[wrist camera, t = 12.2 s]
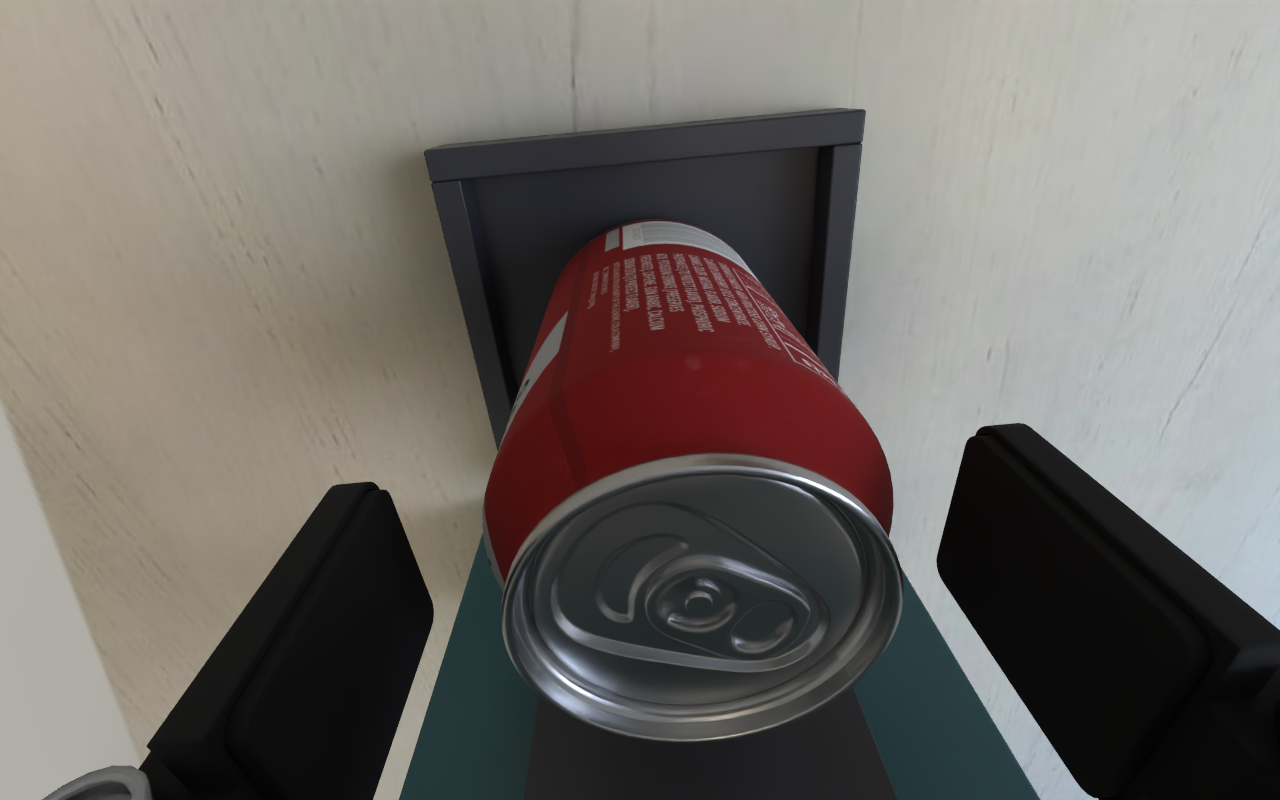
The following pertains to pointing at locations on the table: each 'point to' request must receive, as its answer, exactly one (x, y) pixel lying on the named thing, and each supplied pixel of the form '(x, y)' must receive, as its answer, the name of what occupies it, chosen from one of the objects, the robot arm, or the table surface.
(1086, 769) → the robot arm
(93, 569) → the table surface
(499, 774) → the drinks machine
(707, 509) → the soda can
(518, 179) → the tray
